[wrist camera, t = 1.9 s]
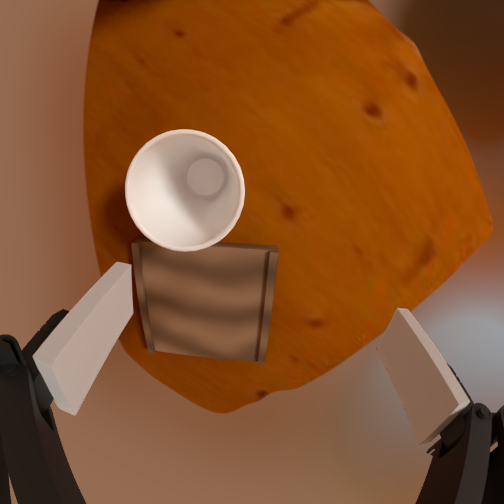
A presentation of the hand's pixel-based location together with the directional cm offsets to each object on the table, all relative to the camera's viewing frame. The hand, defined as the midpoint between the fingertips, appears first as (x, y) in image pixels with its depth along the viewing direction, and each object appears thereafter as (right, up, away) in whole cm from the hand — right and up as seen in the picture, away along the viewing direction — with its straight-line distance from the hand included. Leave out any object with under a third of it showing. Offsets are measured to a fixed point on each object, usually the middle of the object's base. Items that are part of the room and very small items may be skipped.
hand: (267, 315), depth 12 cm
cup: (-6, +12, +18) cm, 23 cm away
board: (-7, -4, +25) cm, 26 cm away
